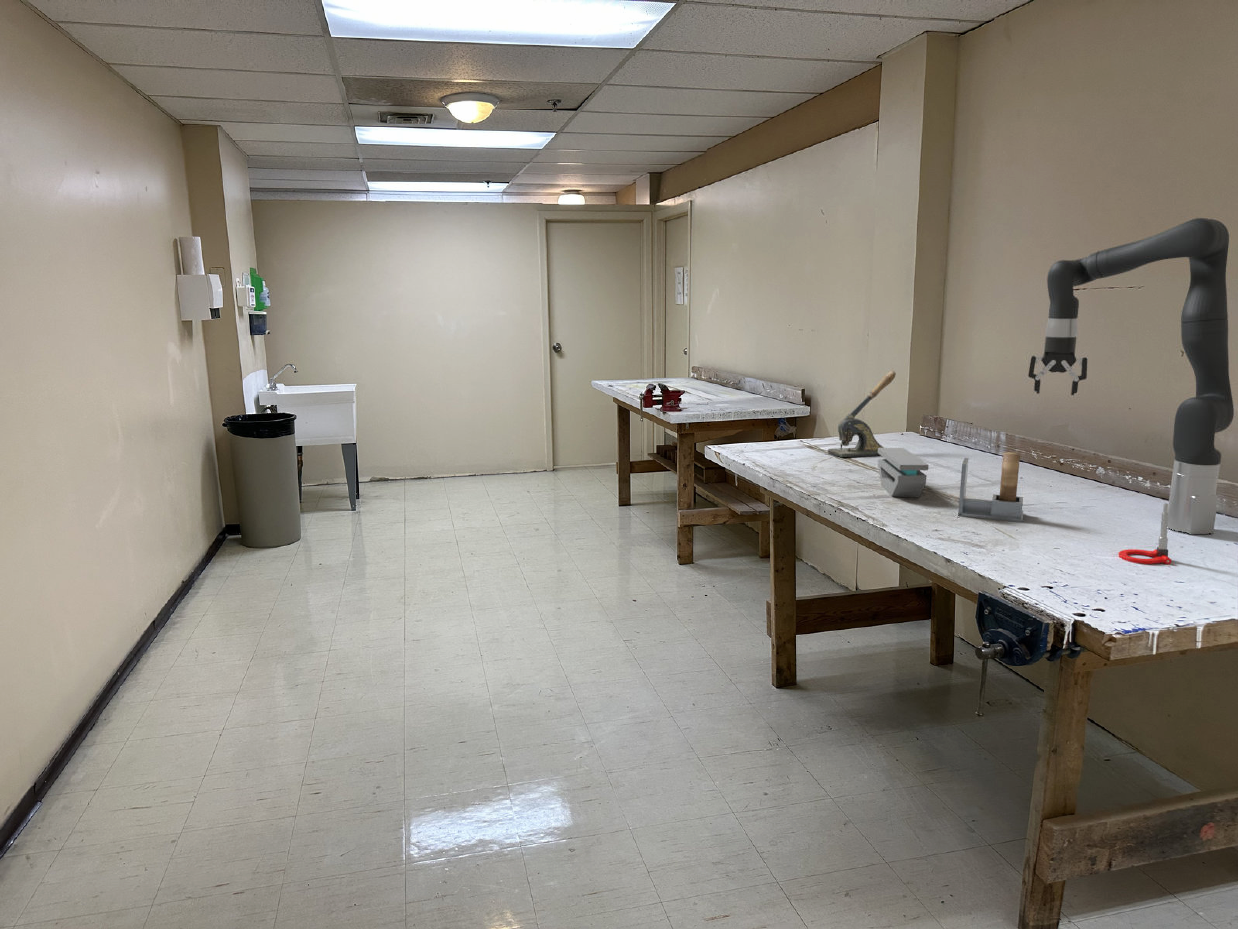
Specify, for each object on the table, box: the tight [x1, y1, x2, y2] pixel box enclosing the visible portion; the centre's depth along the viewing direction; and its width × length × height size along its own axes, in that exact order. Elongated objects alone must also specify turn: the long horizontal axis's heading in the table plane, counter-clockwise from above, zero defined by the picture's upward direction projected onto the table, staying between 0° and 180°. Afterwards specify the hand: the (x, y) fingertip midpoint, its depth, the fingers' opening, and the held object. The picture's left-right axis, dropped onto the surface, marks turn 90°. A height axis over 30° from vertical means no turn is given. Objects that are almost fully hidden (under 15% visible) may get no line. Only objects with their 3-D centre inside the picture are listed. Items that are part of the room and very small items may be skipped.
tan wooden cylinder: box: [999, 452, 1021, 502], centre depth 216 cm, size 4×4×16 cm
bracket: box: [957, 457, 1024, 523], centre depth 218 cm, size 9×16×14 cm, turn 64°
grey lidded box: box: [877, 447, 929, 497], centre depth 244 cm, size 25×8×11 cm, turn 177°
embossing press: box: [826, 370, 896, 458], centre depth 298 cm, size 11×24×30 cm, turn 103°
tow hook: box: [1118, 502, 1172, 565], centre depth 183 cm, size 8×13×9 cm
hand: (1055, 394), depth 229 cm, fingers open, 8 cm apart
